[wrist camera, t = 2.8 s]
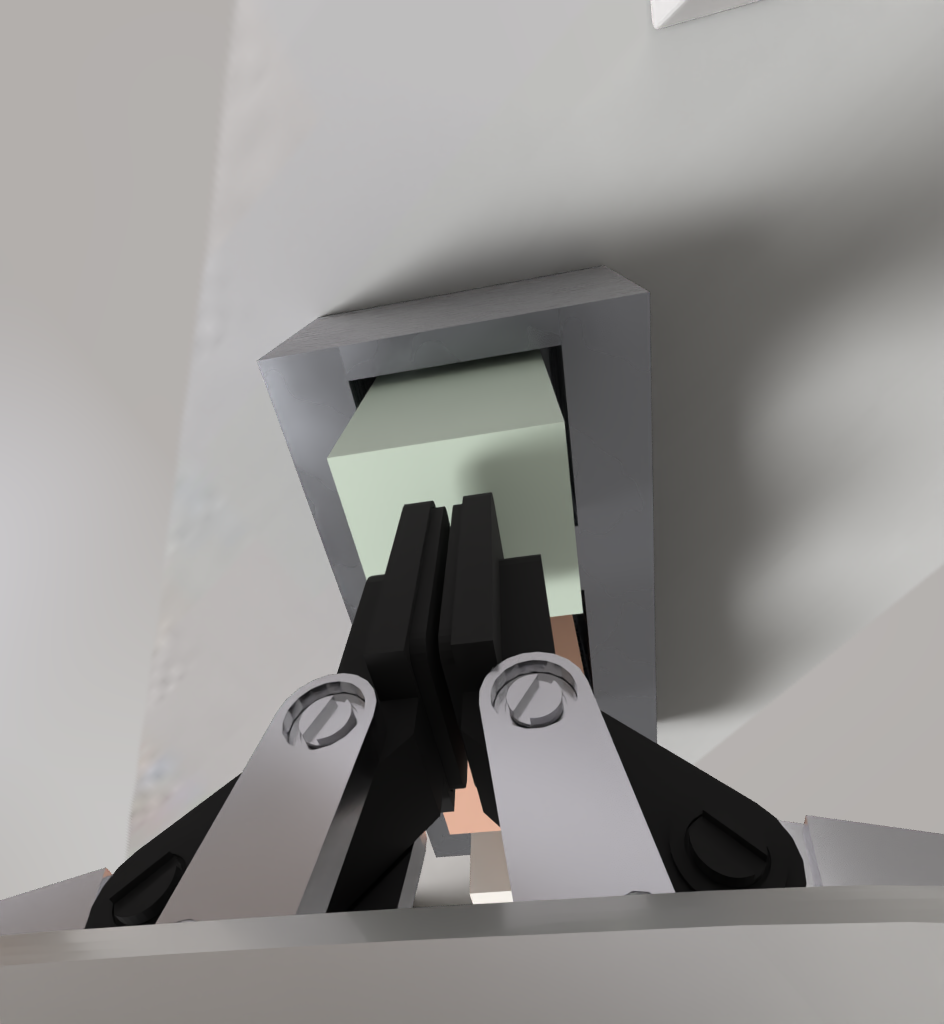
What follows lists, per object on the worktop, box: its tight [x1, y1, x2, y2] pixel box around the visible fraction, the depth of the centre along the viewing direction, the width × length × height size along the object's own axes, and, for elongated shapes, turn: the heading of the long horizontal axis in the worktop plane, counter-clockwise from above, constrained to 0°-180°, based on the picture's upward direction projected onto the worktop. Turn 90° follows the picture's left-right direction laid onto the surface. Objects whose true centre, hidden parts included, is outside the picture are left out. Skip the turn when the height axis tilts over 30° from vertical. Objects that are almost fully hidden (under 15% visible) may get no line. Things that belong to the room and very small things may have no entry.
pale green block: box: [327, 349, 583, 617], centre depth 14 cm, size 5×5×6 cm
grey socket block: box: [257, 266, 657, 857], centre depth 22 cm, size 23×10×6 cm, turn 10°
